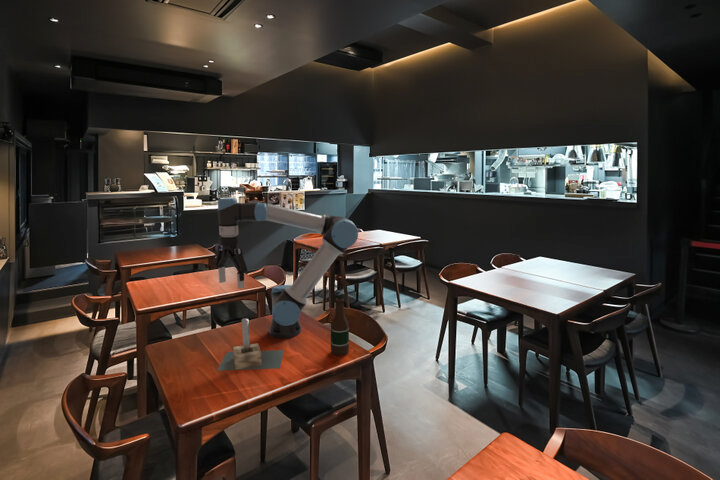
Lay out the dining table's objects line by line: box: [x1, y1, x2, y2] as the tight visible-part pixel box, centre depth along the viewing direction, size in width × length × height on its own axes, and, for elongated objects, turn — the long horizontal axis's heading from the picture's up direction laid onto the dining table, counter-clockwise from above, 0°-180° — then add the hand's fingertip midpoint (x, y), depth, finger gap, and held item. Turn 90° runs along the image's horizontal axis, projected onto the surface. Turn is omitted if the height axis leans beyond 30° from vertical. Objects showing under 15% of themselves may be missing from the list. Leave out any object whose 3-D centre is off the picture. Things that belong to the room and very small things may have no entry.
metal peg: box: [241, 317, 251, 353], centre depth 158 cm, size 3×3×18 cm
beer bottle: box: [330, 297, 350, 357], centre depth 167 cm, size 8×8×24 cm
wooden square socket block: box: [232, 343, 262, 371], centre depth 159 cm, size 10×10×5 cm
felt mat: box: [216, 349, 285, 372], centre depth 161 cm, size 24×16×1 cm, turn 95°
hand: (231, 285), depth 167 cm, fingers open, 13 cm apart
